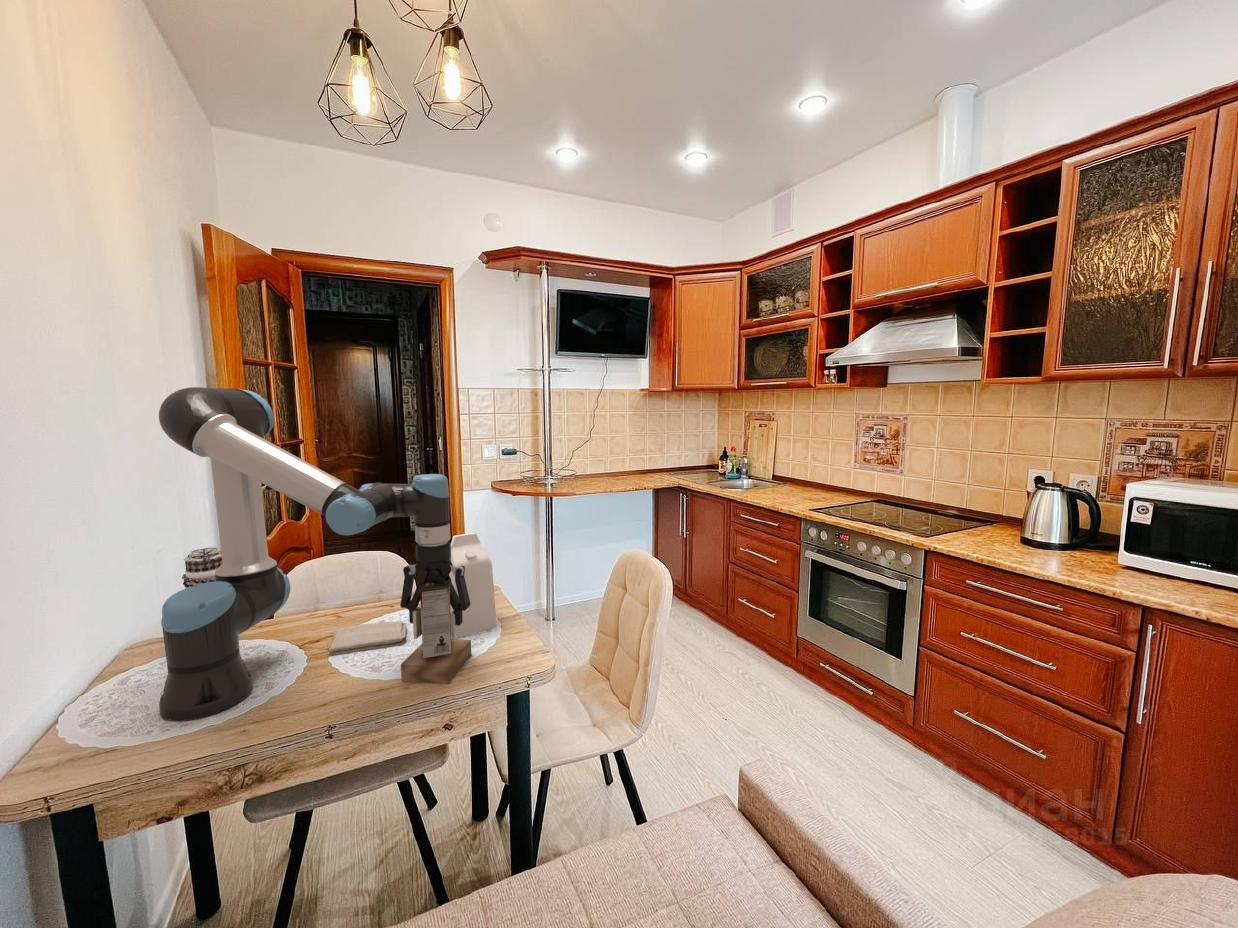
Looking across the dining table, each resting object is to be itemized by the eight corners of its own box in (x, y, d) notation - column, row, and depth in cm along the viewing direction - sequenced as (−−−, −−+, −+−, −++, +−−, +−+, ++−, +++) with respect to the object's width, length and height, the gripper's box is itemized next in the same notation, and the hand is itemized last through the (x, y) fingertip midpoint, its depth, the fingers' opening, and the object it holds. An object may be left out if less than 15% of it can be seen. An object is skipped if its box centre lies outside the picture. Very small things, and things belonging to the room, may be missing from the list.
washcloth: (406, 646, 131) (406, 634, 130) (327, 659, 124) (326, 647, 124) (407, 627, 142) (406, 616, 141) (334, 638, 135) (333, 627, 135)
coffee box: (422, 641, 122) (419, 576, 120) (450, 636, 124) (448, 573, 122) (422, 658, 113) (419, 589, 111) (452, 654, 115) (450, 585, 114)
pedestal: (401, 681, 113) (400, 664, 113) (428, 653, 126) (427, 637, 126) (449, 683, 112) (448, 666, 112) (471, 655, 125) (470, 639, 125)
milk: (479, 613, 150) (476, 527, 147) (496, 626, 142) (494, 535, 138) (438, 624, 143) (435, 533, 140) (454, 638, 134) (451, 542, 131)
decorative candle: (188, 644, 130) (178, 549, 127) (233, 633, 136) (225, 543, 133) (190, 658, 123) (180, 558, 120) (237, 645, 129) (229, 550, 126)
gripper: (379, 545, 113) (384, 642, 116) (472, 548, 111) (474, 646, 114) (397, 536, 120) (401, 627, 123) (484, 539, 118) (486, 631, 121)
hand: (436, 636), depth 118 cm, fingers closed on coffee box, 8 cm apart
